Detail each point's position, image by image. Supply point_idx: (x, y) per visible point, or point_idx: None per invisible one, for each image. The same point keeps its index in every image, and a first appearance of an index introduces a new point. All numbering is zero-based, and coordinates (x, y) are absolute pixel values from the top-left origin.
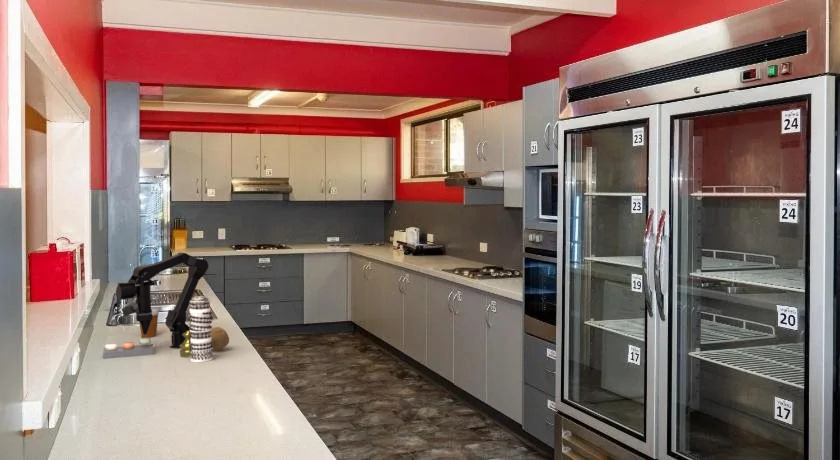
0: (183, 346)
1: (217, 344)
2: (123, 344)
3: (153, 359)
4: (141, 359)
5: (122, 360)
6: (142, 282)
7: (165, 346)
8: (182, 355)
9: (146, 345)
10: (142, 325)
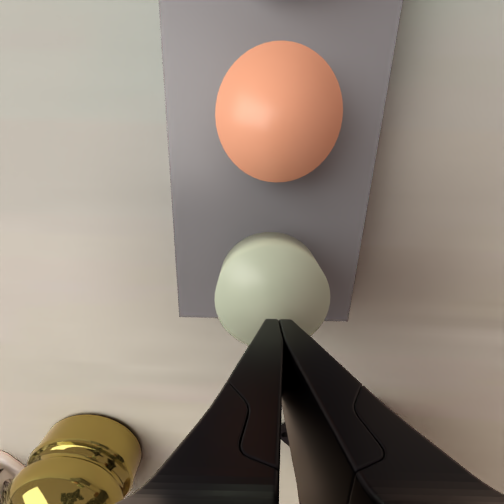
0: (6, 490)
1: None
2: (244, 54)
3: (34, 286)
4: (52, 215)
5: (49, 69)
6: None
7: (398, 366)
8: (52, 427)
9: None
10: (208, 431)
